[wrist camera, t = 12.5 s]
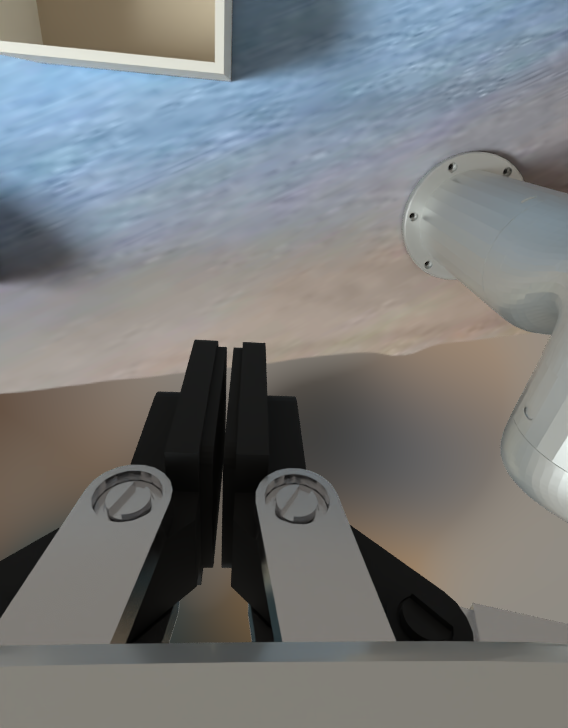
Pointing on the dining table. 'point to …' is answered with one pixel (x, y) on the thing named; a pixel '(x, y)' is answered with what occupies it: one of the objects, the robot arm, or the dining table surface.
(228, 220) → the dining table surface
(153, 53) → the carton
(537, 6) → the dining table surface
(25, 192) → the dining table surface
